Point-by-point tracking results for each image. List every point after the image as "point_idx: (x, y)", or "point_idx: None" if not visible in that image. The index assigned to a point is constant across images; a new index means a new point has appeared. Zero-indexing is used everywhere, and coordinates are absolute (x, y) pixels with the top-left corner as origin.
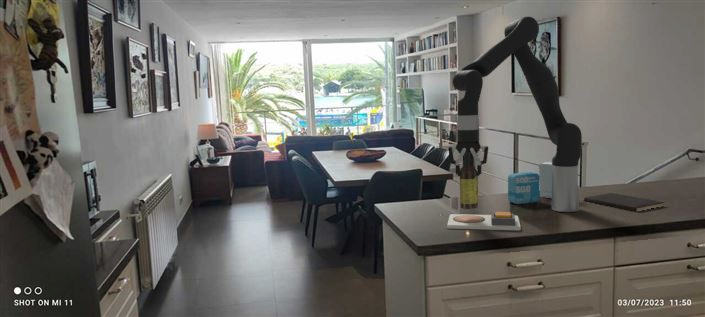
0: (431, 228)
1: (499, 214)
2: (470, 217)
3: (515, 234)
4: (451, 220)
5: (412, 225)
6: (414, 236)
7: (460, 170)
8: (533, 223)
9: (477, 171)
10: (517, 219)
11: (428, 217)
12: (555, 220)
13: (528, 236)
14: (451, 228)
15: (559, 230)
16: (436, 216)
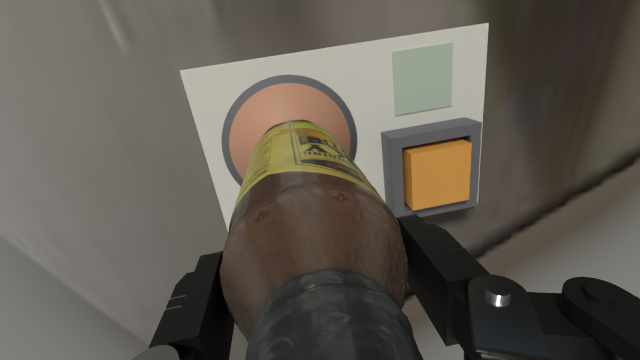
0: (181, 258)
1: (428, 196)
2: None
3: None
4: (227, 186)
5: (90, 244)
6: None
7: (234, 319)
8: (525, 90)
9: (416, 293)
10: (479, 99)
11: (80, 97)
12: (615, 17)
13: (483, 249)
14: None
15: (582, 162)
16: (109, 66)
